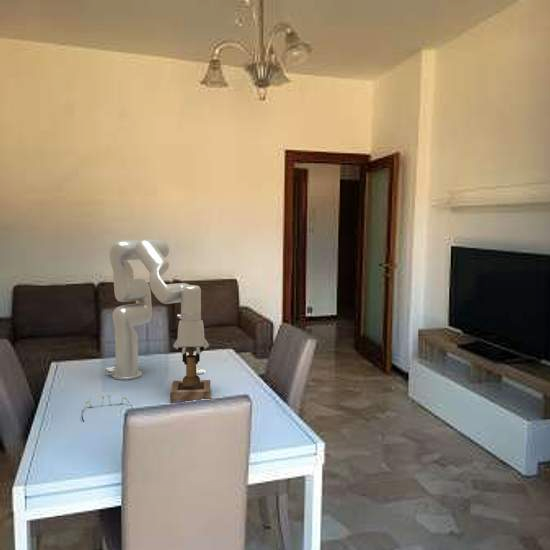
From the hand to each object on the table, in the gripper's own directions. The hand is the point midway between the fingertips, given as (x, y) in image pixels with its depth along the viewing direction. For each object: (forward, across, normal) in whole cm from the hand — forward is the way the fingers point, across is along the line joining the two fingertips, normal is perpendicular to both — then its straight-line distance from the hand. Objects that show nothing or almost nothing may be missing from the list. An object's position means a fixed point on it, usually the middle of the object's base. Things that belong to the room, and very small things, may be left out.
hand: (191, 363), depth 202 cm
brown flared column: (+8, 0, 0) cm, 8 cm away
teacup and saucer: (+14, 0, +32) cm, 35 cm away
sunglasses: (+14, -29, -16) cm, 36 cm away
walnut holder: (+13, 0, 0) cm, 13 cm away
